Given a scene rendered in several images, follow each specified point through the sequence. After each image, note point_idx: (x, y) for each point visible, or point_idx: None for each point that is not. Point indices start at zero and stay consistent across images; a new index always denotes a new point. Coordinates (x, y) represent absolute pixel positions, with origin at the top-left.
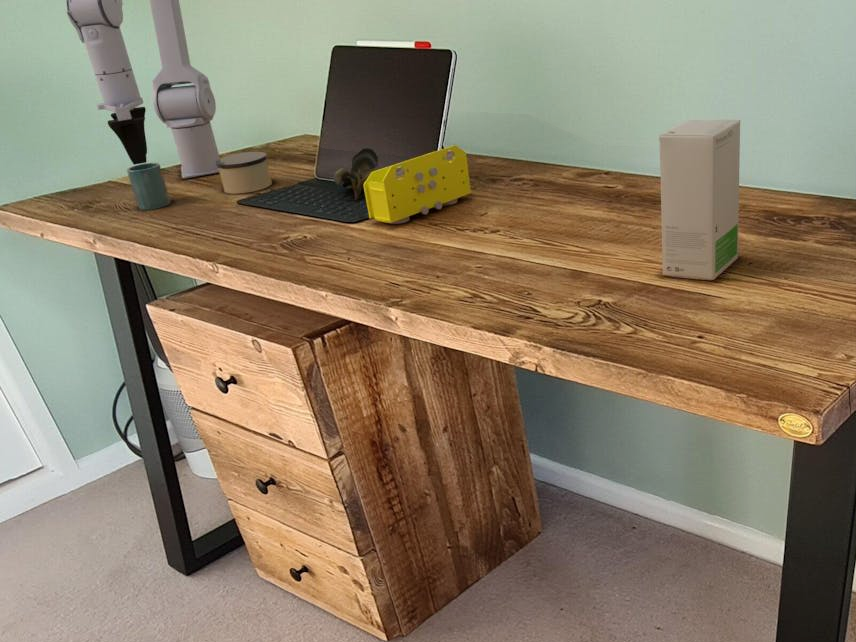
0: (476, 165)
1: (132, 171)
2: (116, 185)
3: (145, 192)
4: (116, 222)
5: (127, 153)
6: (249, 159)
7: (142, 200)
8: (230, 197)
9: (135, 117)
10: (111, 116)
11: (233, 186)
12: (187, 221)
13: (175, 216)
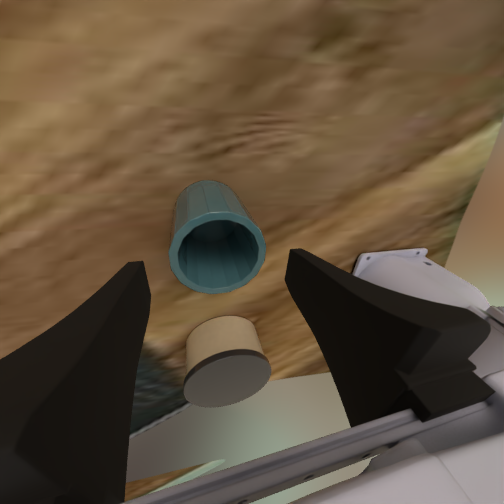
0: (145, 482)
1: (179, 230)
2: (459, 128)
3: (172, 221)
4: (84, 117)
5: (106, 283)
6: (205, 395)
7: (178, 201)
8: (172, 328)
9: (356, 383)
10: (425, 329)
11: (191, 341)
12: (10, 283)
13: (74, 258)
